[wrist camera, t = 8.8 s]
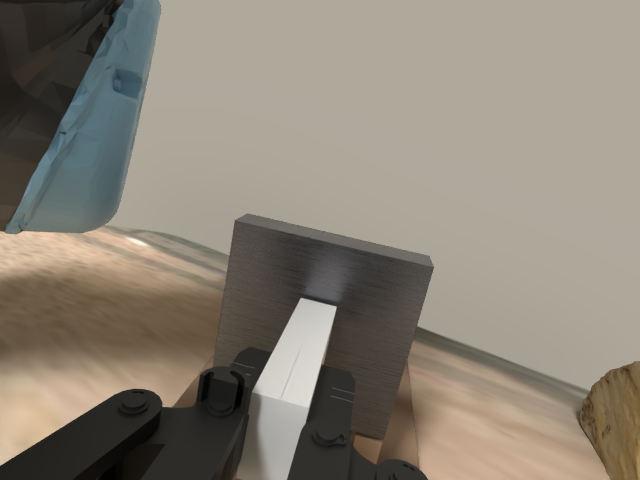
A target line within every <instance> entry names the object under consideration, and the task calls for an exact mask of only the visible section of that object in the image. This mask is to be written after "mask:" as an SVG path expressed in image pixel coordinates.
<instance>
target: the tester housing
mask: <svg viewBox="0 0 640 480" xmlns="http://www.w3.org/2000/svg"><path fill="white" fill-rule="evenodd" d="M213 361H214V356H213V357H212V358H211V359H210V361H209V362H208V363H207V364H206V366H205V367H204V368H203V369H202V371H201V372H200V373H199V375H198V376H197V377H196V378H195V380H194V381H193V382H192V383H191V385H190V386H189V387H188V389H187V390H186V391H185V392H184V394H183V395H182V396H181V397H180V399H179V400H178V401H177V402H176V404H175V405H174V406H173V408H185V407H190V406H193V405H194V404H195V402H196V399H197V392H198V385H199V378H200V374H201V373H202V372H204V371H205V370H206V369H209V368H212V367H213ZM350 439H351V442H352V445H353V446H354V447H355V449H356V450H357V451H358V452H359V453H360V454H361V455H362V456H363V457H365V458H366V459H367V460H369V461H371V462H372V463H374V464H376V465H378V466H379V464H380V463H382V462H383V461H385V460H387V459H399V460H403V461H407V462H409V463H410V464H412V465H414V466H416V467H417V468H418V469H419V463H418V454H417V445H416V436H415V427H414V418H413V409H412V400H411V391H410V382H409V373H408V364H407V362H406V365H405V369H404V372H403V375H402V379H401V382H400V386H399V389H398V393H397V396H396V400H395V403H394V407H393V410H392V413H391V417H390V420H389V424H388V427H387V431H386V434H385V438H384V439H381V438H377V437H374V436H370V435H366V434H363V433H359V432H356V431H352V430H350ZM237 470H238V468H237ZM237 470H236V472H235V474H234V477H233V479H232V480H241V479H238V478H236V476H237Z"/></svg>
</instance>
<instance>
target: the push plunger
mask: <svg viewBox="0 0 640 480" xmlns="http://www.w3.org/2000/svg"><path fill="white" fill-rule="evenodd" d="M433 268H434V266H433V264H432V261H431V259H430V256H427V255H423V254H419V253H414V252H410V251H406V250H401V249H397V248H393V247H389V246H384V245H380V244H376V243H372V242H367V241H363V240H359V239H354V238H350V237H346V236H342V235H337V234H333V233H329V232H325V231H320V230H316V229H311V228H307V227H303V226H299V225H295V224H290V223H286V222H282V221H278V220H273V219H269V218H265V217H260V216H256V215H251V214H246V215H244V216H242V217H240V218H238V219H237V220H235V223H234V230H233V237H232V243H231V250H230V256H229V263H228V269H227V276H226V282H225V289H224V295H223V302H222V309H221V315H220V322H219V328H218V335H217V341H216V348H215V354H214V361H213V367H218V366H227V367H229V366H230V365H231V364H232V363H233V361H234V359H235V358H236V356H237V355H238V353H239V352H241V351H243V350H244V349H246V348H248V347H253V348H257V349H261V350H265V351H268V352H272V353H273V351H274V349H275V347H276V345H277V343H278V341H279V339H280V337H281V335H282V333H283V331H284V330H285V328H286V326H287V324H288V322H289V320H290V318H291V316H292V314H293V312H294V310H295V308H296V306H297V305H298V303H299V301H300V299H301V298H304V299H308V300H312V301H316V302H320V303H324V304H328V305H332V306H336V307H337V308H336V313H335V317H334V321H333V326H332V330H331V334H330V339H329V343H328V347H327V351H326V356H325V360H324V364H323V365H326V366H329V367H333V368H337V369H341V370H345V371H348V372H351V374H352V376H353V378H354V380H355V382H356V383H355V392H354V401H353V410H352V419H351V428H350V430H352V431H356V432H359V433H363V434H366V435H370V436H374V437H377V438H381V439H384V438H385V434H386V431H387V427H388V424H389V420H390V417H391V413H392V410H393V407H394V403H395V400H396V396H397V393H398V389H399V386H400V382H401V379H402V375H403V372H404V369H405V365H406V362H407V358H408V355H409V351H410V348H411V344H412V341H413V338H414V334H415V331H416V327H417V323H418V320H419V316H420V313H421V310H422V306H423V303H424V300H425V296H426V293H427V289H428V285H429V282H430V279H431V275H432V272H433Z"/></svg>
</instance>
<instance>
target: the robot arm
mask: <svg viewBox="0 0 640 480" xmlns="http://www.w3.org/2000/svg"><path fill="white" fill-rule="evenodd" d="M160 14H161V5H160V2H159V1H158V0H0V231H3V232H5V233H7V234H18V233H20V232H22V231H34V232H58V233H84V232H88V231H92V230H95V229H97V228H100V227H101V226H103V225H105V224H106V223H108V222H109V221H110V220H111V219H112V218H113V216H114V215H115V213H116V212H117V210H118V207H119V204H120V201H121V197H122V193H123V189H124V184H125V180H126V176H127V172H128V167H129V163H130V159H131V154H132V150H133V145H134V141H135V135H136V132H137V127H138V122H139V118H140V113H141V108H142V103H143V98H144V94H145V90H146V85H147V80H148V75H149V71H150V65H151V61H152V56H153V51H154V46H155V40H156V34H157V28H158V23H159V18H160ZM336 308H337V307H336V306H332V305H328V304H324V303H320V302H316V301H312V300H308V299H304V298H301V299H300V301H299V303H298V305H297V306H296V308H295V310H294V312H293V314H292V316H291V318H290V320H289V322H288V324H287V326H286V328H285V330H284V331H283V333H282V335H281V337H280V339H279V341H278V343H277V345H276V347H275V349H274V351H273V353H272V352H268V351H265V350H261V349H257V348H253V347H248V348H246V349H244V350H243V351H241V352H239V353H238V355H237V356H236V358H235V359H234V361H233V363H232V364H231V365H230V366H229V367H227V366H218V367H212V368H209V369H206V370H205V371H204V372H202V373H201V374H200V378H199V385H198V392H197V399H196V402H195V404H194V405H193V406H190V407H185V408H169V407H162V401H161V399H160V397H159V396H158V395H157V394H155V393H154V392H152V391H148V390H145V389H131V390H126V391H122V392H120V393H118V394H115V395H114V396H112V397H110V398H109V399H107V400H105V401H104V402H102V403H101V404H99V405H97V406H96V407H94V408H93V409H91V410H89V411H88V412H86V413H85V414H83V415H81V416H80V417H78V418H77V419H75V420H73V421H72V422H70V423H68V424H67V425H65V426H64V427H62V428H60V429H59V430H57V431H56V432H54V433H52V434H51V435H49V436H48V437H46V438H44V439H43V440H41V441H40V442H38V443H36V444H35V445H33V446H32V447H30V448H28V449H27V450H25V451H23V452H22V453H20V454H19V455H17V456H15V457H14V458H12V459H11V460H9V461H7V462H6V463H4V464H3V465H1V466H0V480H232V479H233V477H234V474H235V472H236V470H237V468H238V470H237V476H236V478H238V479H241V480H428V479H427V477H426V476H425V474H424V473H423V472H422V471H420V470H419V469H418V468H417V467H416V466H414V465H412V464H410V463H409V462H407V461H403V460H399V459H387V460H385V461H383V462H382V463H380V464H379V466H378V465H376V464H374V463H372V462H371V461H369V460H367V459H366V458H365V457H363V456H362V455H361V454H360V453H359V452H358V451H357V450H356V449H355V447H354V446H353V445H352V442H351V439H350V428H351V419H352V410H353V401H354V392H355V383H356V382H355V380H354V378H353V376H352V374H351V372H348V371H345V370H341V369H337V368H333V367H329V366H326V365H323V364H324V360H325V356H326V351H327V347H328V343H329V339H330V334H331V330H332V326H333V321H334V317H335V313H336Z"/></svg>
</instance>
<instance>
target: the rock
mask: <svg viewBox="0 0 640 480" xmlns="http://www.w3.org/2000/svg"><path fill="white" fill-rule="evenodd" d="M582 406H583V408H582V410H581V411H580V419H579V421H580V423H581V426H582V428H583V430H584V431H585V433H586V434H587V436H588V438H589V439H590V440H591V442H592V444H593V446H594V449H595V450H596V452H597V454H598V455H599V456H600V458H601V460H602V462H603V464H604V465H605V467H606V472H607V474H608V476H609V477H610V479H611V480H640V361H638V362H637V361H635V362H633V363H632V364H629V365H626V366H623V367H621V368H617V369H613V370H610V371H609V372H608V373H606V374H605V376H604V377H602V378H601V379H600V380H599V381H598V382H597V383H595V384H594V385H593V386H592V388H591V391H590V393H589V394H588V396H587V397H586V398H585V399H584V400H583V403H582Z"/></svg>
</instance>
